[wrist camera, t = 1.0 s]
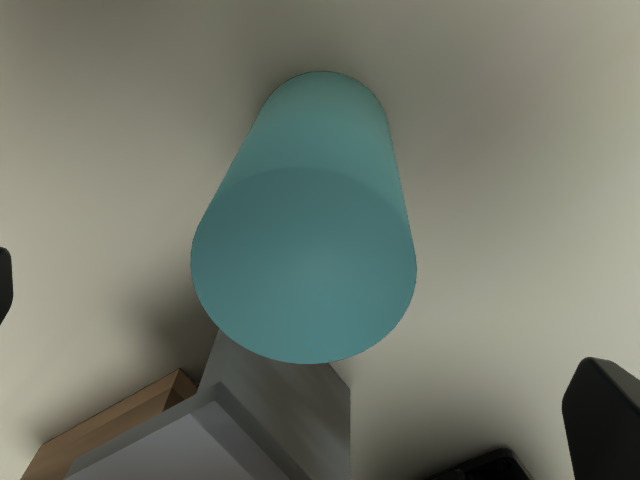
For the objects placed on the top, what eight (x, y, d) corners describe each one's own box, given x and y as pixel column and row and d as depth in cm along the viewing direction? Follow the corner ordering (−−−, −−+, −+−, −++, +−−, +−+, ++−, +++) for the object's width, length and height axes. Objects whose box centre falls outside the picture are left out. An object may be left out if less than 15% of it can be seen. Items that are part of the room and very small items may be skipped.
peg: (414, 157, 18) (457, 303, 10) (305, 223, 19) (278, 394, 12) (341, 42, 16) (334, 119, 9) (228, 121, 17) (143, 244, 10)
